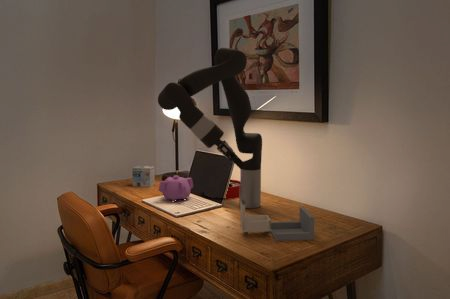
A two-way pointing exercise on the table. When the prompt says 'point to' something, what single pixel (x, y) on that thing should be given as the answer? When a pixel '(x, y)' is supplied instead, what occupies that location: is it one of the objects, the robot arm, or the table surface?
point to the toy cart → (254, 221)
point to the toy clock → (233, 189)
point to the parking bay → (294, 228)
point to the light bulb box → (143, 176)
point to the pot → (176, 187)
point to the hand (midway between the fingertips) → (241, 165)
